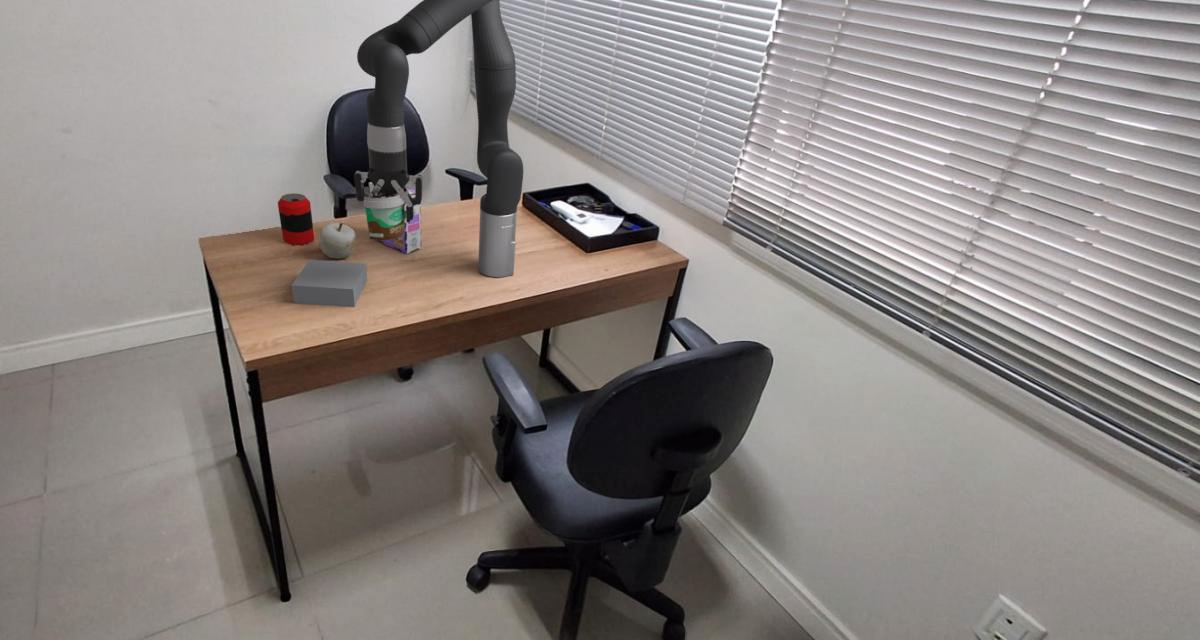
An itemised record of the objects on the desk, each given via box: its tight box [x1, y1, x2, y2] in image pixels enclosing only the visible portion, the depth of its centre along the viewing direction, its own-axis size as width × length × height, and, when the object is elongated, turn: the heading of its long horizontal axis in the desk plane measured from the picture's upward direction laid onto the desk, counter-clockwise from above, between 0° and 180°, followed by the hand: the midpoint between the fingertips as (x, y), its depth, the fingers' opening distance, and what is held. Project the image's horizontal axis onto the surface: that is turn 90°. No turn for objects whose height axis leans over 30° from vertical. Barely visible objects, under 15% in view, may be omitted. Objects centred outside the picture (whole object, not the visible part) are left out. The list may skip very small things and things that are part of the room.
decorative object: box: [318, 221, 357, 260], centre depth 156 cm, size 9×9×10 cm
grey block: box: [291, 259, 368, 308], centre depth 143 cm, size 13×13×5 cm
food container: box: [362, 191, 405, 241], centre depth 134 cm, size 12×6×10 cm, turn 169°
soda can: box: [277, 192, 315, 246], centre depth 161 cm, size 8×8×12 cm
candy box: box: [368, 181, 423, 255], centre depth 165 cm, size 14×6×16 cm, turn 58°
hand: (391, 219), depth 135 cm, fingers closed on food container, 7 cm apart
